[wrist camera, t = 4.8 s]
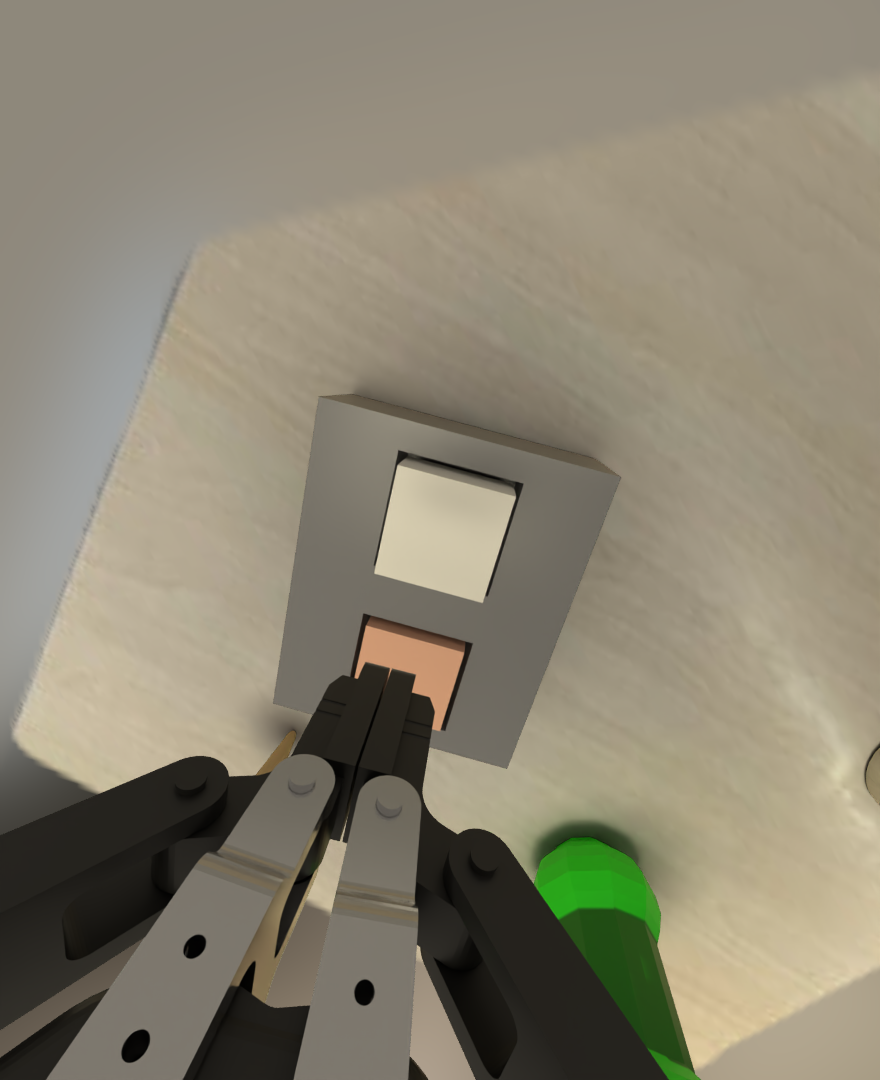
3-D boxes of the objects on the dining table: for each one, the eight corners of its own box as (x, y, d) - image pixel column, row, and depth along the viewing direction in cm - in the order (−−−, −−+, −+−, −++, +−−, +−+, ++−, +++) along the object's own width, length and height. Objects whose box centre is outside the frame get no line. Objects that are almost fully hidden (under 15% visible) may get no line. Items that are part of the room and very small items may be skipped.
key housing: (595, 458, 29) (621, 477, 23) (504, 707, 36) (507, 768, 30) (352, 394, 29) (318, 396, 24) (307, 653, 36) (273, 703, 30)
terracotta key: (466, 626, 30) (464, 652, 27) (444, 700, 32) (439, 731, 29) (377, 602, 30) (365, 625, 27) (360, 677, 32) (348, 705, 29)
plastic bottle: (671, 864, 39) (946, 1597, 15) (575, 915, 42) (682, 1586, 19) (592, 794, 37) (764, 1490, 14) (499, 853, 41) (511, 1498, 17)
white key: (513, 484, 25) (516, 496, 22) (483, 580, 27) (482, 602, 24) (407, 455, 25) (397, 464, 22) (386, 553, 27) (374, 573, 24)
